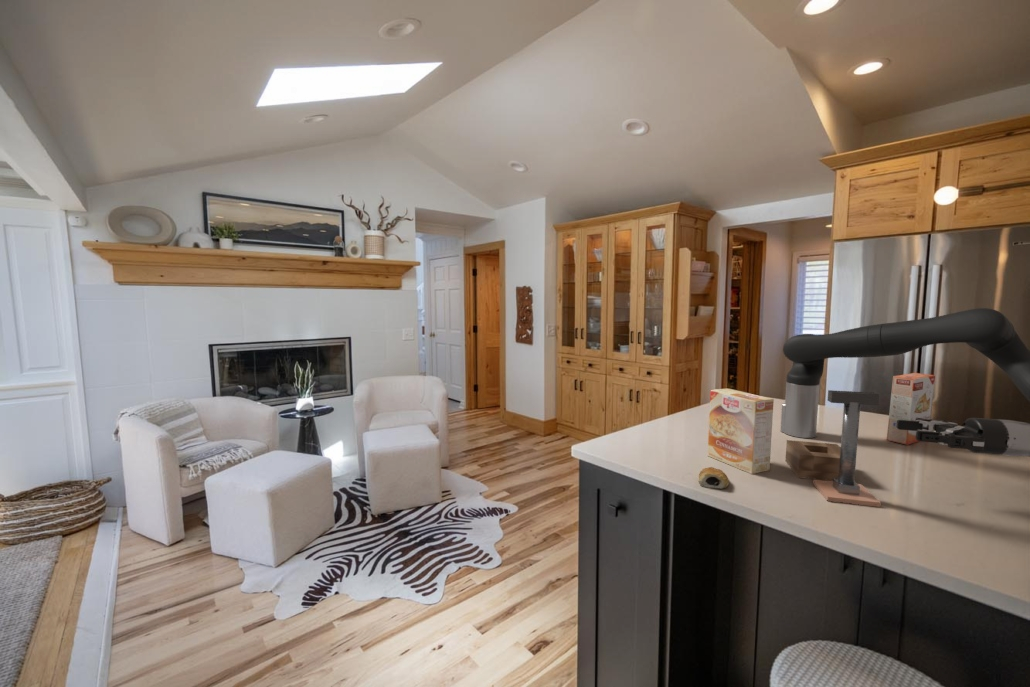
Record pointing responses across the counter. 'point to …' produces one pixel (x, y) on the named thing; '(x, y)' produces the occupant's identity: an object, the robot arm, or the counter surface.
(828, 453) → the block
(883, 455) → the counter surface
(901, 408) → the cracker box
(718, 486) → the pastry
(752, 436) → the coffeecake box
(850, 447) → the key
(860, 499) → the pad
